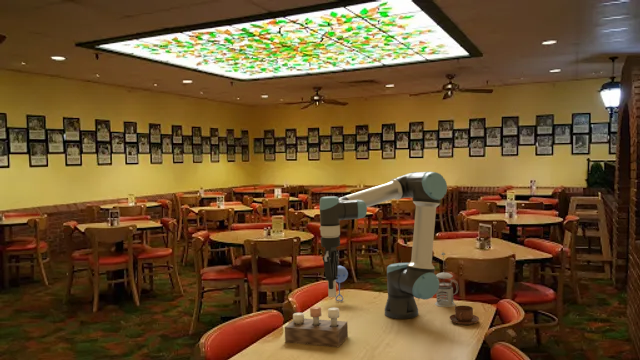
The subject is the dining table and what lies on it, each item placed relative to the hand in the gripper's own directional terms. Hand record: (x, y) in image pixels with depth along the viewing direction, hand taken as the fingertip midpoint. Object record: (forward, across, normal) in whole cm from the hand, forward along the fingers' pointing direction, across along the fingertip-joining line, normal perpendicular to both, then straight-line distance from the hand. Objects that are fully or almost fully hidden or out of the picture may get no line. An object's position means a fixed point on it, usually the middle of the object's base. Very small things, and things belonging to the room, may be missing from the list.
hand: (332, 296), depth 191 cm
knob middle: (+12, 0, -7) cm, 14 cm away
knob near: (+12, 0, 0) cm, 12 cm away
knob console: (+18, 0, -7) cm, 19 cm away
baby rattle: (+18, -55, -15) cm, 60 cm away
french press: (+17, -60, +37) cm, 73 cm away
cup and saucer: (+18, -36, +46) cm, 61 cm away
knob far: (+15, 0, -15) cm, 21 cm away
